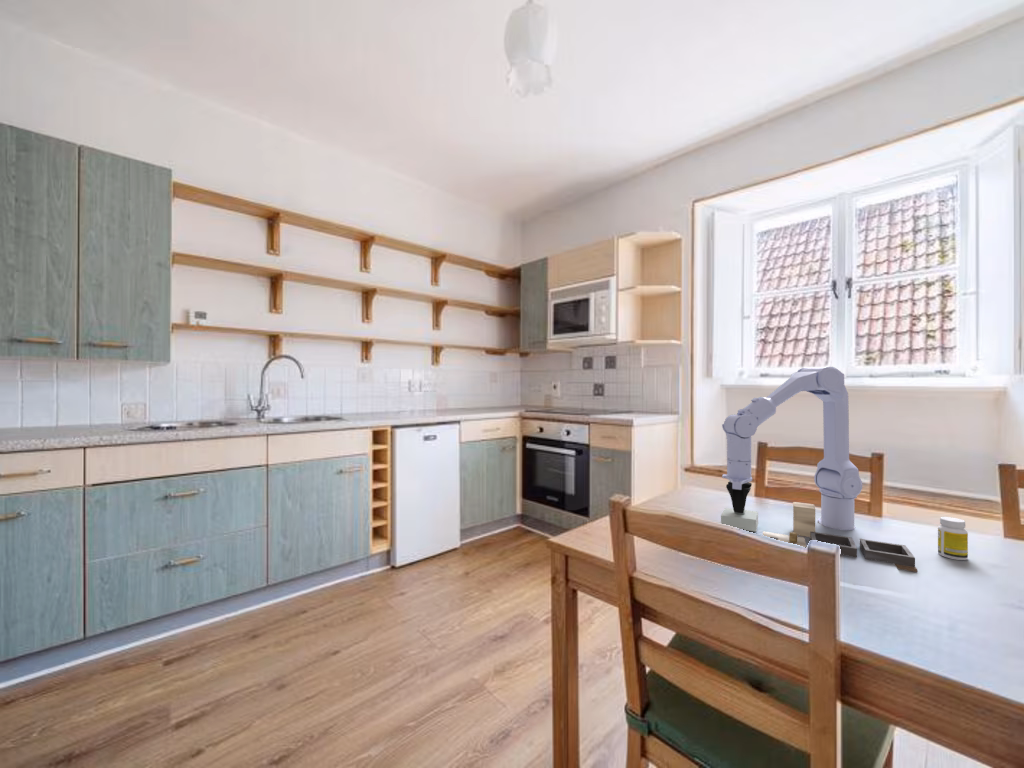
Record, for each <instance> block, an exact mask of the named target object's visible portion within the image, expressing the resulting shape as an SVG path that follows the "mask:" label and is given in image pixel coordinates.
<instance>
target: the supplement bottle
mask: <svg viewBox="0 0 1024 768" xmlns="http://www.w3.org/2000/svg"><path fill="white" fill-rule="evenodd" d="M939 524H940V525H937V553H938V555H940V556H942V557H944V558H948V559H951V560H955V561H956V560H957V561H966V560H968V559H969V557H968V556H969V548H968V547H969V545H968V544H969V542H968V541H969V537H968V536H969V532H968V530H967V529H966V521H965V520H964V519H961V518H957V517H949V516H941V517H940V518H939Z"/></svg>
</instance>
